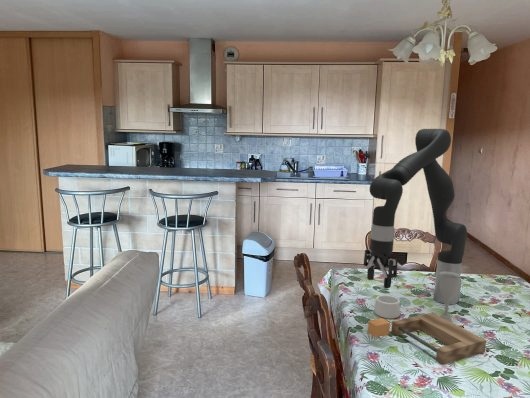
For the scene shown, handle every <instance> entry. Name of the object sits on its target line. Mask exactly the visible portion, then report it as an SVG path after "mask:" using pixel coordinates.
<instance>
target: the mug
mask: <svg viewBox="0 0 530 398" xmlns="http://www.w3.org/2000/svg"><path fill="white" fill-rule="evenodd" d="M373 310H374V311H373V312H374V313H375V315H376V316H378V317H379V318H383V319H389V320H390V319H392V320H393V319H397V318H398V317H400V316H401V301H400V299H399V298H398V297H396V296H393V295H390V294H381V295H377V296H376V298H375V303H374V309H373Z"/></svg>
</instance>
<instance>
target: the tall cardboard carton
mask: <svg viewBox="0 0 530 398" xmlns="http://www.w3.org/2000/svg"><path fill="white" fill-rule="evenodd" d="M367 322H368V324H367V334H369V335H370V334H371V335H372V336H371V335H370V336H371V337H373V336H374V337H377V338H380V336H382V337H384V336H389V335H390V326H391V322H389V321H388V320H387V319H386V318H383V317H379V318H375V319H371V320H368V321H367ZM374 337H373V338H374Z"/></svg>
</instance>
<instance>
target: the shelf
mask: <svg viewBox="0 0 530 398" xmlns="http://www.w3.org/2000/svg"><path fill="white" fill-rule="evenodd" d="M452 322H453V321H452ZM452 322H450V321H448V320H446V319H444V318H442V317H440V315H438V314H436V313H434V312H428V313H424V314H419V315H416V316H411V317H407V318H401V319H397V320H393V321H391V330H390V331H391V333H392V334H394V336H400V335H403V334H405V335H407V336H409V337H410V338H412V339H414V340H415V341H417V342H418V343H420V344H421V345H423V346H425V347H427V348H428V349H430V350H431V351H433V352H434V353H435V361H436V362H437V363H439V364H441V365H446V364H450V363H452V362H455V361H459V360H463V359H467V358H469V357H472V356H475V355H479V354H482V353H485V352H486V345H487V339H485V338H484V337H481V336H479V335H477V334H475V333H473V332H471V331H469V330H467V329H465V328H463V327H462V326H460V325H457V324H455V323H454V322H453V323H452ZM420 330H421V331H422V332H424V333H425V334H427V335H428V336H431V337H433V338H434V339H436V340H437V341H439V342H441V343H442V344H444V346H441V347H435V346H434V345H432V344H430V343H429V342H427V341H425V340H424V339H422V338H421V337H419V336H417V335H415V334H414V333H413V332H415V331H416V332H417V331H420Z"/></svg>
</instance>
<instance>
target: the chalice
mask: <svg viewBox="0 0 530 398" xmlns="http://www.w3.org/2000/svg"><path fill="white" fill-rule="evenodd" d="M439 274H440V290H441V293H442V295H443V297H444V298H445V299H446V302H445V304H444V305H445V306H444V308H443V309H444V312H443V313H441V314H440V315H439V316H440V317H442V318H444V319H446V320H448V321H450V322H452V323H454V322H453V320H452V316H451V315H450V314H449V313H448V311H449V310H450V308H449V306H450V304H449V299H452V298H453V296H454V295H455V294H456V292H457V290H458V284H459V279H461V277H462V276H461V275H459V274H456V273H453V272H440V273H439Z"/></svg>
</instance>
